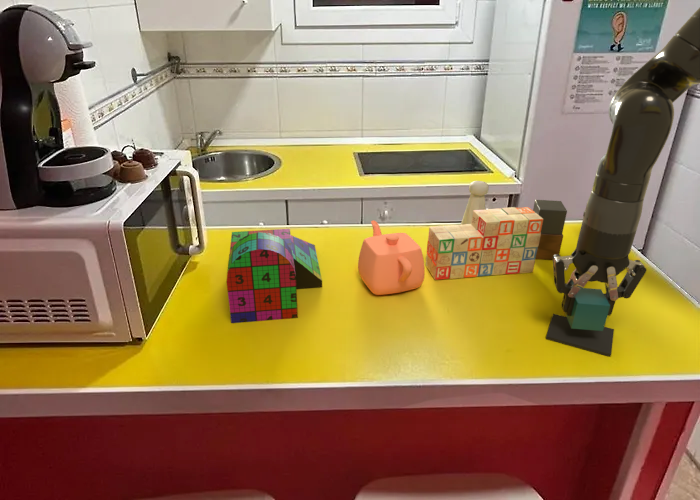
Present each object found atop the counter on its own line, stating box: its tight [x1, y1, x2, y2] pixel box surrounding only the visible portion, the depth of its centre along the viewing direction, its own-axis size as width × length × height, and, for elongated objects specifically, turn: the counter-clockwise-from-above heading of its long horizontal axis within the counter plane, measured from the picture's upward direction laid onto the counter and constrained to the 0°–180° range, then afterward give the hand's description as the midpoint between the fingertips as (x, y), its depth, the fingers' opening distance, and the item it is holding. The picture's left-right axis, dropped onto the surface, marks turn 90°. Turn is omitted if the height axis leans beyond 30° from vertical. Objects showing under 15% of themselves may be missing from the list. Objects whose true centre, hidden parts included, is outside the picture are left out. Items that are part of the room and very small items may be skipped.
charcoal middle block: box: [532, 199, 568, 235], centre depth 111 cm, size 6×6×6 cm
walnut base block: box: [535, 233, 564, 261], centre depth 113 cm, size 6×6×6 cm
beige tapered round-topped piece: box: [460, 180, 489, 225], centre depth 120 cm, size 6×6×13 cm
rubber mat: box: [545, 313, 615, 358], centre depth 88 cm, size 10×8×1 cm
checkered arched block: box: [226, 228, 323, 324], centre depth 99 cm, size 25×17×14 cm
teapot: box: [357, 219, 426, 296], centre depth 101 cm, size 12×18×10 cm, turn 19°
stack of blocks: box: [425, 206, 543, 281], centre depth 105 cm, size 21×6×12 cm, turn 100°
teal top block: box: [564, 287, 610, 331], centre depth 86 cm, size 5×5×5 cm
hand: (584, 314), depth 86 cm, fingers closed on teal top block, 5 cm apart
